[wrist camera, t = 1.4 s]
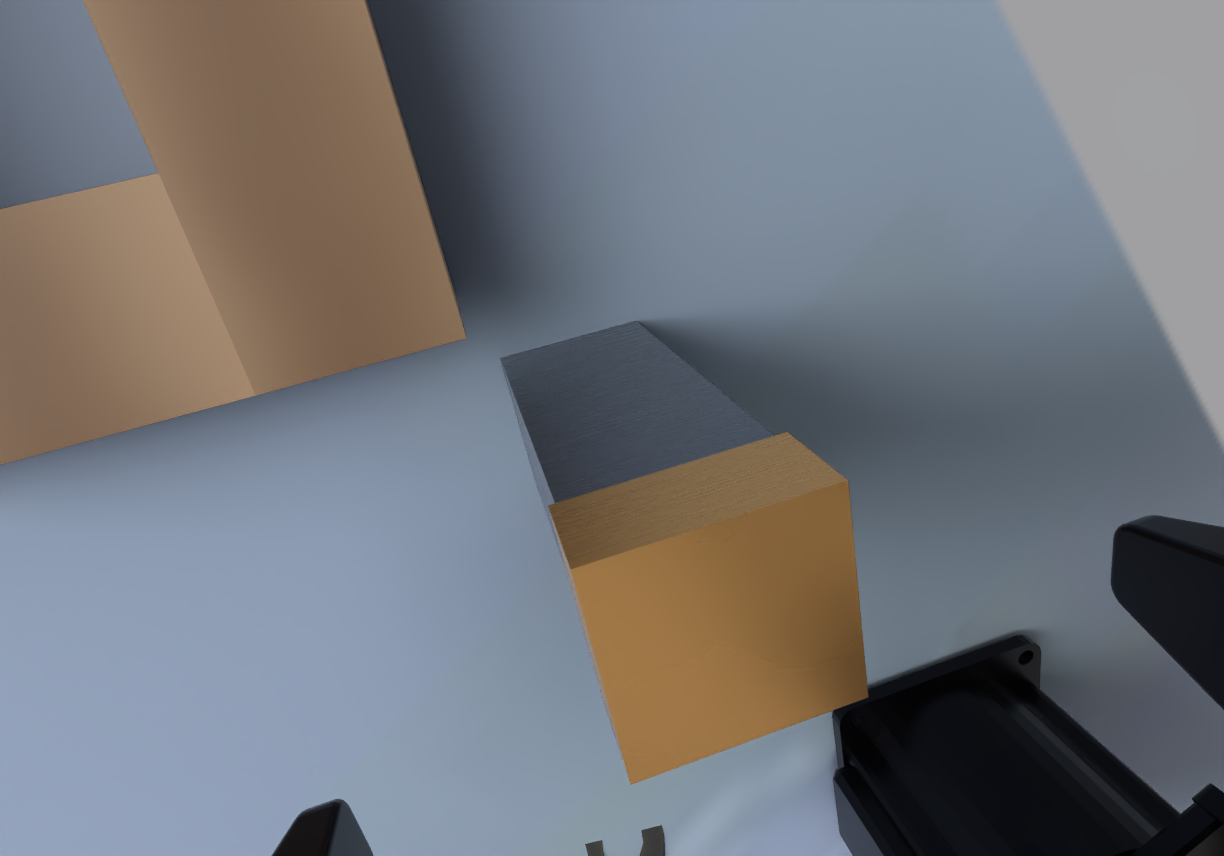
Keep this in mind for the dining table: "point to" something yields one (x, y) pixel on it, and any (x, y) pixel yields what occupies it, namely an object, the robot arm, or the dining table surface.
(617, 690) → the orange and grey peg
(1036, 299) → the dining table surface
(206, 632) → the dining table surface
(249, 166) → the block
